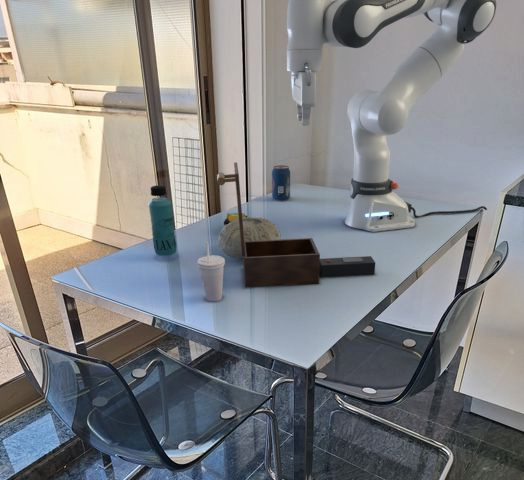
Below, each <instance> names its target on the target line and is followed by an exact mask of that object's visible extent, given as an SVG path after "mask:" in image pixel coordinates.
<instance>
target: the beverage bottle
mask: <svg viewBox="0 0 524 480" xmlns="http://www.w3.org/2000/svg"><path fill="white" fill-rule="evenodd" d="M150 195H151V196H152V197H153V198H152V199H151V200H150V201H149V202H148V204H147V205H148V210H149V217H150V225H151V228H150V230H151V232H152V233H151V236H152V242H153V250H154V253H155V255H157V256H159V257H168V256H172V255H175V254H176V253H177V248H178V247H177V239H176V234H175V232H176V231H175V222H174V216H173V208H172V207H173V206H172V201H171V200H170V199H169V198H167V197H165V196H166V195H167V190H166V186H165V185H162V184H161V185H157V184H156V185H152V186H150ZM163 196H164V197H163Z"/></svg>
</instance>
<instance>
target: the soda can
mask: <svg viewBox="0 0 524 480" xmlns="http://www.w3.org/2000/svg"><path fill="white" fill-rule="evenodd" d="M271 197H272V198H273V200H274V201H277V202H286V201H288V200H289V199H290V197H291V170H290V168H289V165H283V164H280V165H275V166H273V168H272V171H271Z"/></svg>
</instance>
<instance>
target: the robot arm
mask: <svg viewBox="0 0 524 480" xmlns="http://www.w3.org/2000/svg"><path fill="white" fill-rule="evenodd" d="M496 10H497V0H288V1H287V13H286V32H287V37H288V42H287V47H286V71H287V72H290V83H291V95H292V100H293V101H294V102H295V103H296V111H297V118H296V119H297V120H298V121H299V122H301V125H302V126H303V127H307V126H310V118H311V112H312V108H315V107H316V105H317V76H318V75H317V73H318V72H319V71H322V70H323V46H327V47H334V48H335V47H336V48H341V47H342V48H351V49H360V48H363V47H365V46H366V45H367V44H369V43H370V42H371V41H372V40H373V39H374V38H375V37H376V35H378V34H379V32H380V31H382V29H384V28H386V27H388V26H390V25H392V24H394V23H396V22H398V21H400V20H401V19H407V18H413V17H417V16H419V15H424V16H425V18H426V19H427V20H428V21H430V22H432V23H435V24H436V25H437V26H436V27H435V29H434V31H433V33H432V34H431V36H429V37H428V38H426V39H425V40H424V41H422V43H420V44H419V45H418V46H417V47H416V48H415V49H414V50H413V51H412V52H411V53H410V54H409V55H407V56H406V57H405V58H404V59H403V60H402V61H401V62H400V63H399V64H398V65H397V66H396V67H395V68H394V70H393V75H392V77H391V78H390V79H389V81H388V82H387V84H386V85H385V86H384V87H383V88H381V89H380V90H372V89H367V90H362V91H360V92H357V93H355V94H354V95H353V96H352V97H351V98H350V99H349V101H348V105H347V107H346V113H347V116H348V120H349V121H350V122H349V123H350V126H351V128H350V129H351V136H352V144H353V168H352V178H351V180H350V188H349V190H350V191H349V197H350V201H349V206H348V211H347V214H346V217H345V220H344V223H345V225H347V226H348V227H351V228H354V229H358V230H365V231H368V232H372V233H376V232H384V231H385V232H386V231H393V230H400V229H402V230H403V229H411V228H414V227H415V225H416V221H415V219H414V218H416V219H417V218H418V219H419V218H424V217H427V216H430V215H440V214H441V215H443V214H445V215H447V214H464V213H474V212H477V211H479V210H481V209H483V210H484V211H488V208H487V207H486V206H484V205H480V206H479V207H477V208H473V209H465V210H446V211H445V210H443V211H440V210H439V211H437V210H436V211H429V212H427V213H424V214H422V215H417V213H416V209H415V207H413V204H411V203H409V202H407V201H405V200H404V199H402V198H401V197H400V196H399V195H398V194H397V193H395V192H394V191H396V190H397V189H398V188H399V184H398V183H397V181H393V180H392V179H390V178H389V174H390V166H391V165H390V164H391V150H390V148H389V146H388V145H389V144H388V141H387V136H391V135H395V134H397V133H399V132H400V131H402V130H403V128H404V127H405V126H406V124H407V122H408V119H409V114H410V112H411V111H412V109H413V107H414V106H415V105H416V103H417V102H418V101H419V100H420V99H421V98H422V96H424V95H425V94H426V93H427V92H428V91H429V90H430V89H431V88H432V87H434V85H435V84H437V82H439V81H440V80H441V79H442V78H443V77H444V76H445V75H446V74H447V73H448V71H450V69H452V68H453V66H454V65H455V64H456V63H457V61H459V59H460V57H461V56H462V54H463V52H464V50H465V44H466V45H467V44H470V43H472V42H473V41H475V40H476V39H477V38H478V37H480V36H481V34H483V33H484V32H485V31H486V30H487V29H488V28H489V26H490V25H491V24H492V22H493V20H494V18H495V16H496ZM393 190H394V191H393ZM411 212H412V214H413V217H414V218H413V217H412V216H410V214H411ZM409 213H410V214H409Z"/></svg>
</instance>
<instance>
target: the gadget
mask: <svg viewBox="0 0 524 480" xmlns="http://www.w3.org/2000/svg"><path fill="white" fill-rule="evenodd" d="M243 217H248V215H246V213H244V212H242V218H243ZM238 218H239V217H238V211H236V212H228V213H226V218H225V219H224V221H223V226H225V224H229V223H230V222H231V221H234V220H236V219H238Z"/></svg>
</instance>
